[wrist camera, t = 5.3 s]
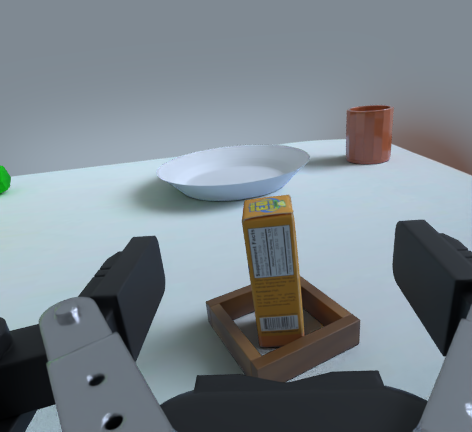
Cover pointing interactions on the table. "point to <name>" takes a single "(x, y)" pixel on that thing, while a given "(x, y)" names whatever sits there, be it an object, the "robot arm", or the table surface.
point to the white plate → (233, 171)
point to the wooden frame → (295, 353)
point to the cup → (369, 134)
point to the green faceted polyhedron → (4, 179)
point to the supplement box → (273, 269)
